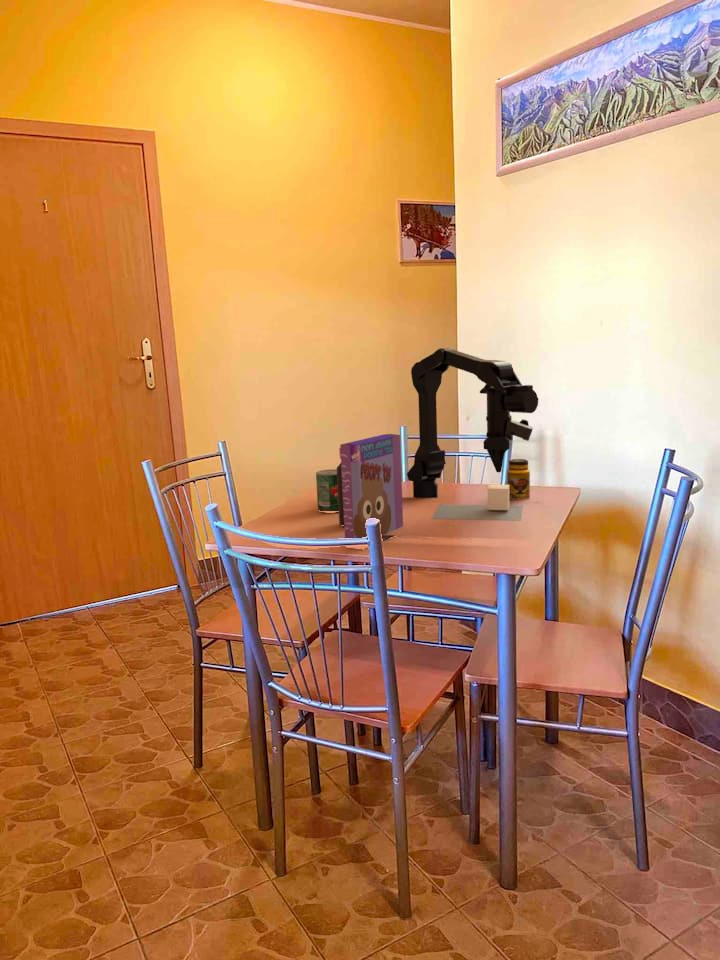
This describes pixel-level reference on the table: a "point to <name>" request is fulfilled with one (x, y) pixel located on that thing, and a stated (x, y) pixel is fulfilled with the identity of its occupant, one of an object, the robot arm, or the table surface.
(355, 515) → the cereal box
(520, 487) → the condiment
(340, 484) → the bottle
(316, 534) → the table surface
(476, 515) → the base plate
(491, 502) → the cream colored cube
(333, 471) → the canned tomato
